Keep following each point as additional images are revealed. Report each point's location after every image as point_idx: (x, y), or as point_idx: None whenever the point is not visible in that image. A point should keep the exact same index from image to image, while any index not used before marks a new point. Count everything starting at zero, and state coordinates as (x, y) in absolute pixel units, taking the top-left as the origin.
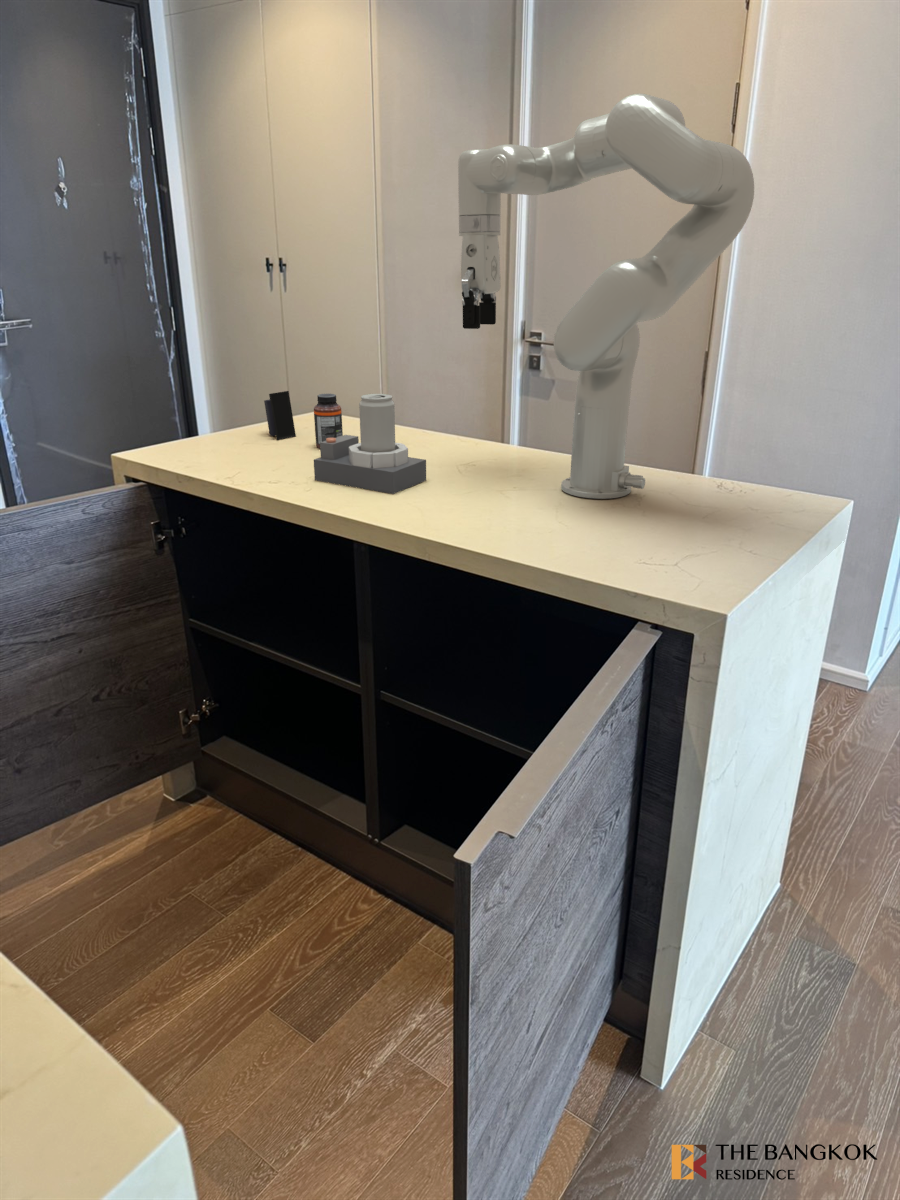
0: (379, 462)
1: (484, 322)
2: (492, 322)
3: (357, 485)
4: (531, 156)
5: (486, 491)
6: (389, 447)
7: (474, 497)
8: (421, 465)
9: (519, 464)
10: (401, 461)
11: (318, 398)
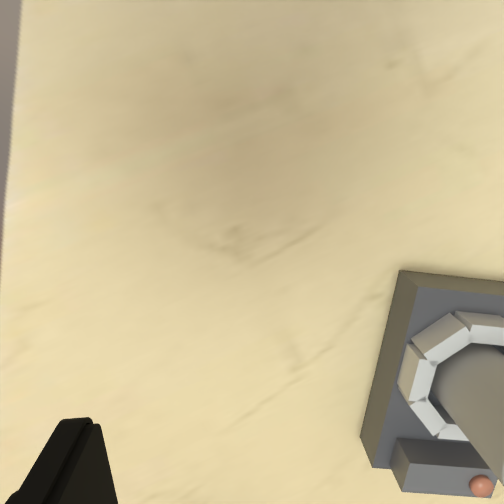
0: None
1: (109, 499)
2: (99, 438)
3: None
4: None
5: (442, 116)
6: (502, 356)
7: (496, 122)
8: (433, 285)
9: (175, 132)
10: (484, 316)
11: None
